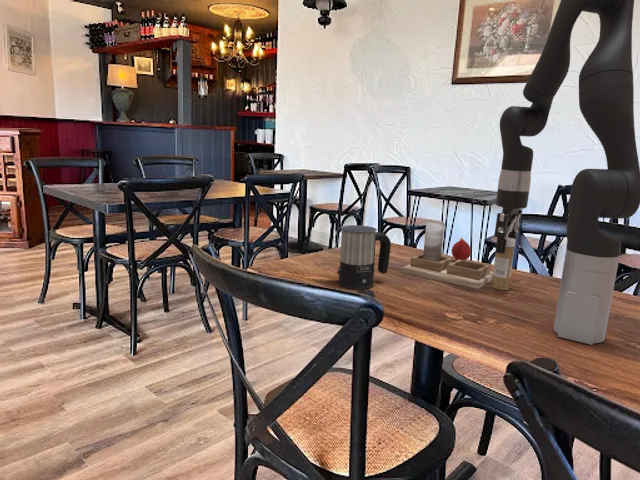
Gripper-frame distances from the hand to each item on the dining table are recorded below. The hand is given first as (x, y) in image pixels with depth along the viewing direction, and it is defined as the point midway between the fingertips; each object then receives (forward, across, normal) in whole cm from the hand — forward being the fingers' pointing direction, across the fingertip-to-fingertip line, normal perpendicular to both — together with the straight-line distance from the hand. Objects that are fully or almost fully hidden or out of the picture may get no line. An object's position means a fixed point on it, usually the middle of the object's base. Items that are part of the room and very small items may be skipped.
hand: (505, 250), depth 127 cm
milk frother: (+10, -23, +32) cm, 40 cm away
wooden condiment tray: (+10, +1, +15) cm, 18 cm away
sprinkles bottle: (+10, 0, 0) cm, 10 cm away
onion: (+11, +18, +18) cm, 28 cm away
